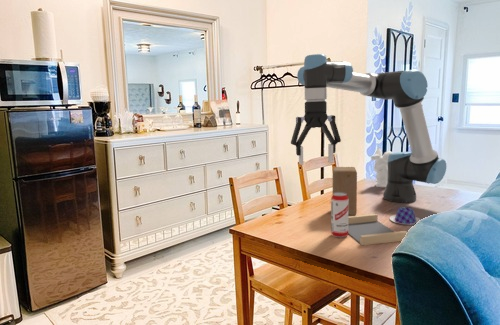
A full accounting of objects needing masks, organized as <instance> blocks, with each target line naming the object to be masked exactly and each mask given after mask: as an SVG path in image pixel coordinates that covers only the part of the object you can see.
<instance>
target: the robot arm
mask: <svg viewBox="0 0 500 325" xmlns="http://www.w3.org/2000/svg"><path fill="white" fill-rule="evenodd" d="M303 63H304V65H303V66H301V67H300V68H299V69H298V70H297V75H296V79H297V81H298V83H299V84H301V86H304V100H305V102H304V115H303V116H296V117H295V126H294V129H293V132H292V133H293V134H292V135H291V136H292V137H291V140H290V144H291V145H292V146H295V152H296V154H295V155H297V156H298V164H299V165H300V166H304V146H303V142H304V141H305V138H306V137H307V135H308V134H309V132H310V130H311V129H316V128H320V129H322V132H324V134H325V136H326V138H327V140H328V141H329V144H328V145H327V146H328V148H327V149H328V150H327V151H328V152H327V154H328V157H327V158H328V163H330V164H333V163H334V154H336V145H337V144H338V143H341V142H342V139H341V136H340V133H339V129H338V126H337V123H336V115H333V114H331V115H328V114H327V107H328V106H327V101H326V100H327V98H328V96H327V95H328V94H327V88H329V89H337V90H343V91H350V92H354V93H360V95H362V96H365V97H371V98H376V99H379V100H380V99H381V100H393V104H394V106H395V108H398V109H399V111H400V115H401V118H402V122H403V126H404V129H405V133H406V137H407V142H408V143H409V144H408V145H409V148H410V150H411V151H400V152H393V153H392V154H390V155H389V156H388V162H387V163H388V180H387V185H386V187H384V188H385V189H384V191H383V197H382V198H383V199H384V200H385V201H388V202H393V203H394V202H395V203H411V202H415V201H417V193H416V190H415V187H414V186H415V185H414V181H415V182H420V183H425V184H431V185H432V184H435V185H436V184H439V183H440V182H441V181H442V180H443V179H444V177H445V175H446V172H447V162H446V160H445V159H443V158H439V154H438V152H437V151H436V150H435V149H433V147H432V142H431V138H430V134H429V133H430V132H429V130H428V126H427V125H428V124H427V121H426V118H425V113H424V109H423V105H422V102H423V100H424V99H425V98H424V97H425V96H426V95H427V92H428V89H427V88H428V85H429V84H428V81H427V78H426V76H425V74H424V73H423V72H422V71H419V70H417V69H406V70H398V71H396V70H395V71H386V72H385V71H384V72H379V73H371V72H366V73H357V72H354V68H353V65H352V64H351V63H350V62H348V61H328V59H327V55H326V54H322V53H317V54H309V55H306V56H305V57H304V62H303ZM327 121H328V122H329V125H330V129H331V131H332V133H331V131H330V130H329V128H328V126H327V124H326V122H327ZM304 122H305V123H306V124H305V125H304V128H303V130H302V132H301V134H300V131H301V128H302V124H303V123H304Z"/></svg>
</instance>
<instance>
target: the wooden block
mask: <svg viewBox="0 0 500 325" xmlns="http://www.w3.org/2000/svg"><path fill="white" fill-rule="evenodd" d="M357 191H358V172H357V170H356V167H355V166H334V167H333V168H332V194H333V193H335V192H344V193H347V197H348V199H349V211H348V217H349V216H357V212H358V211H357V210H358V209H357V206H358V205H357V201H358V200H357V199H358V196H357V195H358V194H357V193H358V192H357Z"/></svg>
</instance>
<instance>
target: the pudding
mask: <svg viewBox="0 0 500 325" xmlns="http://www.w3.org/2000/svg"><path fill="white" fill-rule="evenodd" d="M389 220H390V221H391V222H393V223H396V224H400V225H403V224H404V225H410V226H411V225H416V224H415V223H417V222H418V221H419V220H421V221H422V219H421V218H419V217H417V216H416V215H415V211H414V209H413V208H411V207H407V206H405V207H404V206H403V207H401V206H400V207H398V209H397V211H396V214H395V215H391V216H390V217H389Z"/></svg>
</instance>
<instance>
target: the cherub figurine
mask: <svg viewBox="0 0 500 325" xmlns="http://www.w3.org/2000/svg"><path fill="white" fill-rule="evenodd" d="M382 152H383V151H382V149H381V148H380V147H379V146H377V147H376V151H375V153H374V155H372V156H371V157H370V159H371V161H375V162H374V166H373V171H374V172H375V173H376V174H375V178H376V182H375V183H374V186H375V187H376V188H382V189H383V188H386V185H387V180H388V163H387V162H388V156H389V155H390V154H392V153H394V152H393V151H391V150H388V151H385V152H383V154H382Z"/></svg>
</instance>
